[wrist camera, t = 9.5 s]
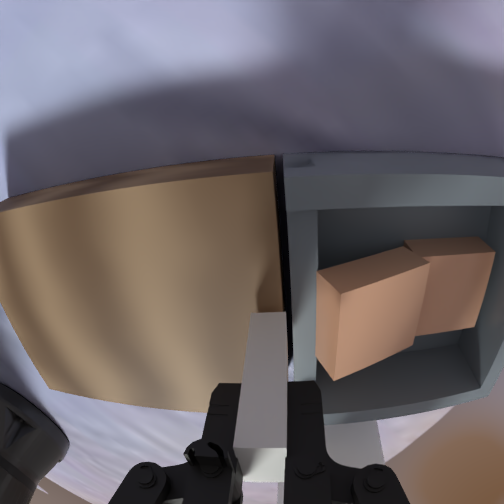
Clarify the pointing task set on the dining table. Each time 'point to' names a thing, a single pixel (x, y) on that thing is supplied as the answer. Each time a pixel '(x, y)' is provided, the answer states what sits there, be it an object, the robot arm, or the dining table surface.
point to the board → (144, 278)
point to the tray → (387, 238)
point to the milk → (350, 446)
